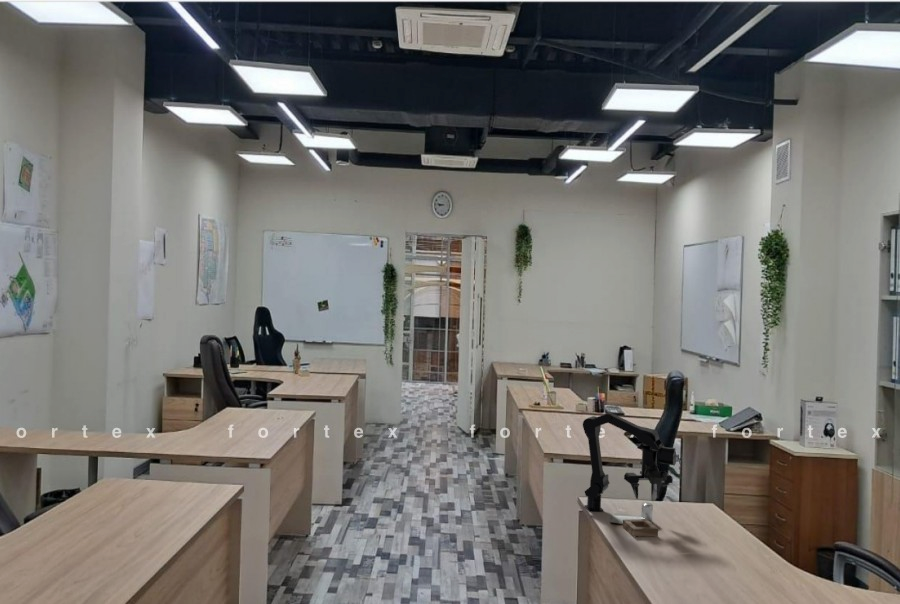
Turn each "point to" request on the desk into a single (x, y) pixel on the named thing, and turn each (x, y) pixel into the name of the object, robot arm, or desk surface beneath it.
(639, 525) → the frame
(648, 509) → the metal cylinder
